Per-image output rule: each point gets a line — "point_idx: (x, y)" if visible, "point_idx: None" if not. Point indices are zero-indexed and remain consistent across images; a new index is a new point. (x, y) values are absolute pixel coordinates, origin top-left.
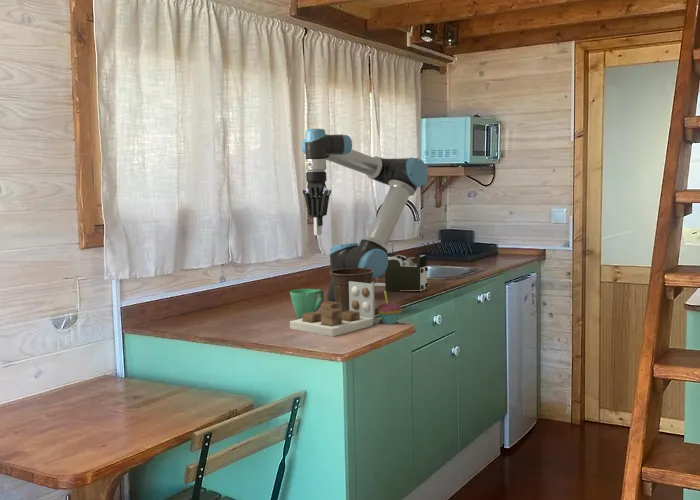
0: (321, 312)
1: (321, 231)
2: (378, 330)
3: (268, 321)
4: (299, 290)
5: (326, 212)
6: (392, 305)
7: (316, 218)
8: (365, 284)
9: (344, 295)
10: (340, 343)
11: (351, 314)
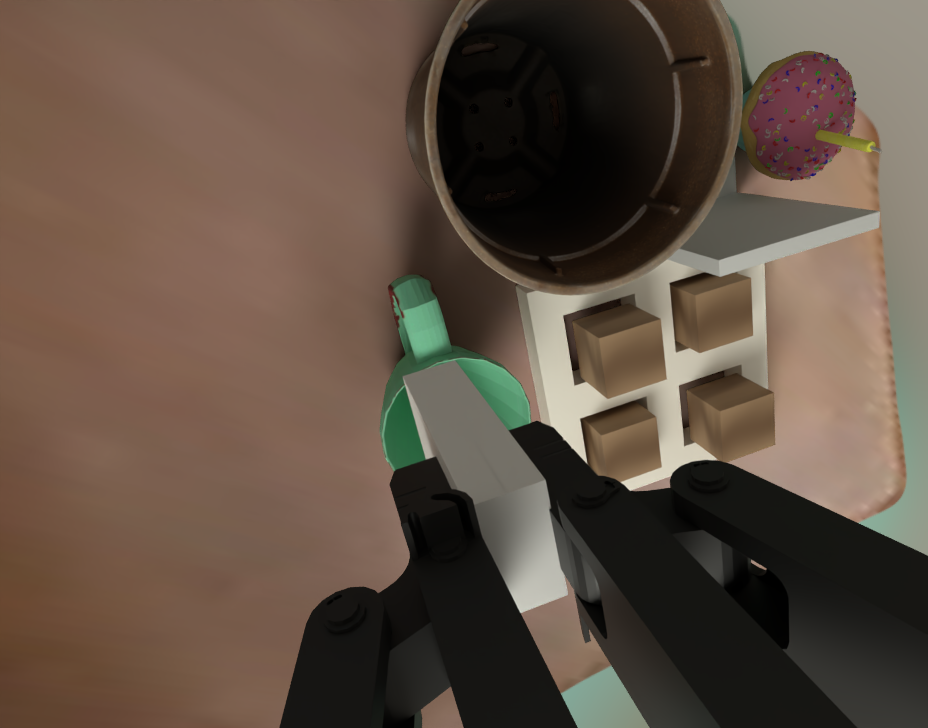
0: (720, 459)
1: (468, 382)
2: (807, 250)
3: (382, 522)
4: (384, 420)
5: (767, 495)
6: (847, 128)
7: (559, 580)
8: (831, 240)
9: (577, 225)
10: (824, 446)
11: (751, 327)
